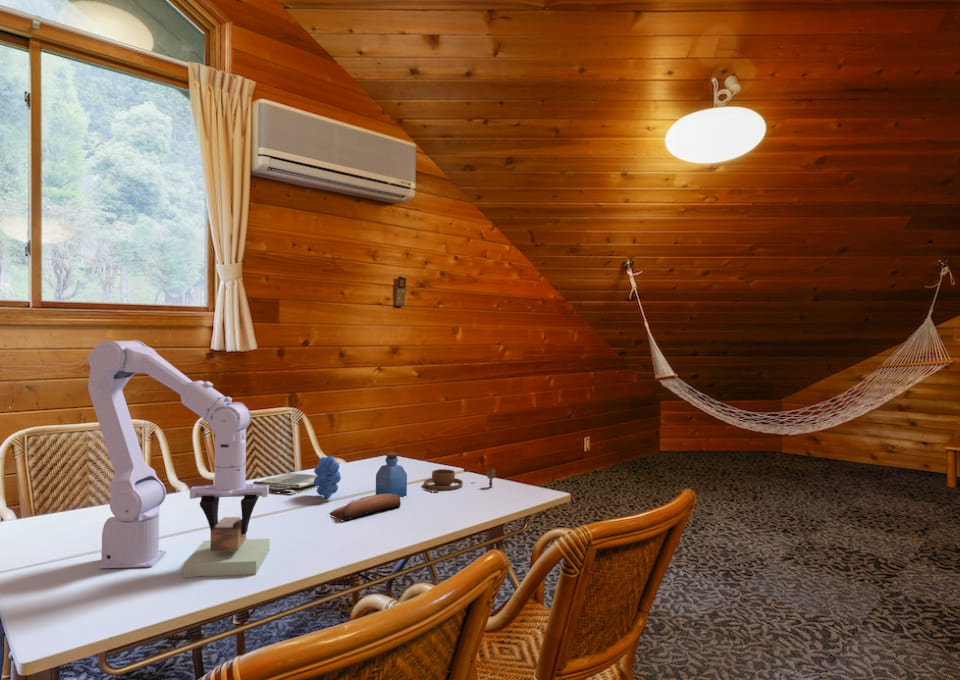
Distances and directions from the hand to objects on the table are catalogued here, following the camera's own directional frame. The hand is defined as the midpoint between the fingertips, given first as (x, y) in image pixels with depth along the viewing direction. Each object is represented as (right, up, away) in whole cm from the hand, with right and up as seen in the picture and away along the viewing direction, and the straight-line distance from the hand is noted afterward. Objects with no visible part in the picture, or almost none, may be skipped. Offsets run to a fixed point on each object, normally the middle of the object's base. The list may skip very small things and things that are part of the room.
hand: (229, 533), depth 122 cm
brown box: (0, -2, 0) cm, 2 cm away
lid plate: (0, +1, 0) cm, 1 cm away
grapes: (+8, -6, +50) cm, 51 cm away
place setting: (+42, -7, +63) cm, 76 cm away
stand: (0, -6, 0) cm, 6 cm away
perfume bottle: (+25, -6, +52) cm, 58 cm away
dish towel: (-7, -6, +63) cm, 63 cm away
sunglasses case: (+20, -7, +37) cm, 42 cm away
